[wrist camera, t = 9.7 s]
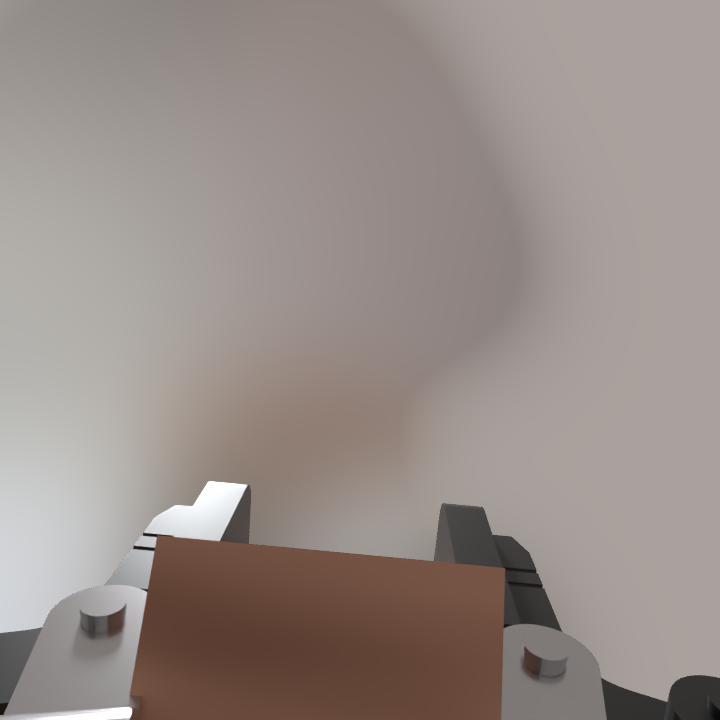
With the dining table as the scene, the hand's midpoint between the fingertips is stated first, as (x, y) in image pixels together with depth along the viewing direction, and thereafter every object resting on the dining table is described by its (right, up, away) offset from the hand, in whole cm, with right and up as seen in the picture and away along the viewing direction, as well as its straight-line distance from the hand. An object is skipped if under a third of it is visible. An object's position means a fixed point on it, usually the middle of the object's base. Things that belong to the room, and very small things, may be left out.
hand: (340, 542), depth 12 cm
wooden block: (0, -5, +5) cm, 7 cm away
